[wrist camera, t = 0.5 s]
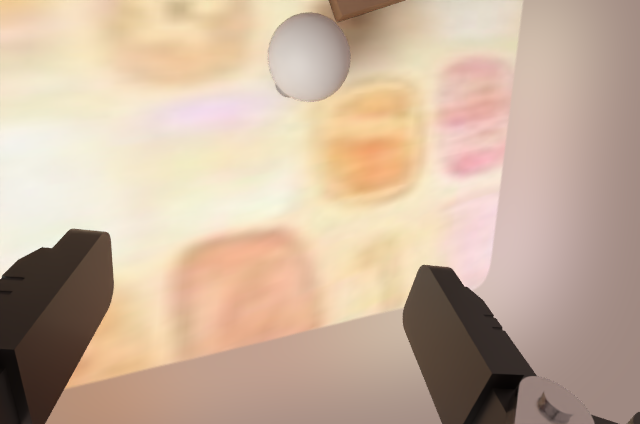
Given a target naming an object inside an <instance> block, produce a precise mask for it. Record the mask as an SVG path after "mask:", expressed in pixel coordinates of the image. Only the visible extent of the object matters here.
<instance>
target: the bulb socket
mask: <svg viewBox="0 0 640 424" xmlns="http://www.w3.org/2000/svg"><path fill="white" fill-rule="evenodd" d="M402 1H405V0H329V2H330V5H331V8H332V10H333V13H334V16H335V19H336V22H339V21H342V20H346V19H349V18H352V17H355V16H358V15H361V14H364V13H367V12H371V11H374V10H377V9H380V8H383V7H386V6H389V5H392V4H396V3H399V2H402Z"/></svg>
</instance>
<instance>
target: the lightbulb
mask: <svg viewBox="0 0 640 424" xmlns="http://www.w3.org/2000/svg"><path fill="white" fill-rule="evenodd" d="M268 64H269V70H270V73H271V75H272V78H273V80H274V81H275V84H276V88H277V90H278V92H279V93H280V94H281V95H283V96H285V97H292V98H294V99H296V100H300V101H306V102H314V101H320V100H323V99H326V98H327V97H329V96H331V95H332V94H334V93H335V92H336V91H337V90H338V89H339V88H340V87H341V85H342V84H343V82H344V81H345V79H346V76H347V74H348V71H349V67H350V48H349V44H348V41H347V38H346V36H345V35H344V33H343V31H342V30H341V29H340V27H339V26H338V25H337V24H336V23H335V22H334V21H332V20H331V19H329V18H328V17H326V16H323V15H321V14H317V13H301V14H297V15H294V16H292V17H290V18H288V19H287V20H285V21H284V22H283V23H282V24H281V25H279V27H278V28H277V29H276V31H275V32H274V34H273V36H272V38H271V41H270V43H269V48H268Z"/></svg>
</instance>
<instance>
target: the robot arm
mask: <svg viewBox="0 0 640 424" xmlns="http://www.w3.org/2000/svg"><path fill="white" fill-rule="evenodd" d="M113 288H114V280H113V265H112V251H111V239H110V235H109V234H108V233H107V232H101V231H91V230H81V229H70V230H69V231H68V232H67V233H66V234H65V235H64V236H63V237H62V238H61V239H60V240H59V242H58V243H57V244H56V245H55V246H54V247H53V248H43V247H42V248H40V249H38V250H36V251H34V252H32V253H30V254H28V255H27V256H25V257H23V258H21V259H19V260H18V261H17V262H15V263H14V264H13V265H12V266H11V267H10V268H9V269H8V270H7V271H6V272H5V273H4V274H3V275H2V278H1V279H0V424H45V423H46V421H47V419H48V417H49V416H50V413H51V412H52V410H53V408H54V406H55V405H56V403H57V401H58V399H59V397H60V396H61V394H62V392H63V390H64V388H65V386H66V385H67V383H68V381H69V379H70V377H71V376H72V374H73V372H74V370H75V368H76V366H77V365H78V363H79V361H80V359H81V357H82V356H83V354H84V352H85V350H86V348H87V346H88V345H89V343H90V341H91V339H92V337H93V336H94V334H95V332H96V330H97V328H98V327H99V325H100V323H101V321H102V319H103V317H104V316H105V314H106V312H107V310H108V308H109V306H110V303H111V299H112V295H113ZM493 316H494V315H493V314H492V312H491V311H490V309H489V308H488V307H487V305H486V304H485V302H484V301H483V300H482V299H481V298H480V297H478V296H477V295H476V294H475V293H474V292H473V291H471V290H470V289H469V288H468V287H464V285H463V284H462V282H461V281H460V279H459V278H458V276H457V275H456V274H455V272H454V271H453V269H451V268H449V267H440V266H430V265H422V266H421V267H420V268H419V270H418V272H417V275H416V277H415V280H414V283H413V285H412V288H411V291H410V293H409V296H408V299H407V301H406V304H405V307H404V310H403V326H404V330H405V332H406V335H407V337H408V340H409V342H410V345H411V347H412V350H413V352H414V355H415V357H416V360H417V362H418V365H419V367H420V370H421V372H422V375H423V377H424V379H425V382H426V384H427V387H428V389H429V392H430V394H431V397H432V399H433V402H434V404H435V407H436V409H437V412H438V414H439V417H440V419H441V422H442V424H618V423H615V422H612V421H609V420H606V419H602V418H599V417H596V416H593V415H591V414H590V412H589V411H588V410H587V408H586V407H585V405H584V404H583V403H582V402H581V401H580V400H579V399H578V398H577V397H576V396H575V395H574V394H572V393H571V392H570V391H569V390H567V389H566V388H564V387H563V386H561V385H559V384H558V383H556V382H554V381H551V380H549V379H546V378H542V377H539V376H536V374H535V373H534V371H533V370H532V368H531V367H530V366H529V364H528V363H527V361H526V360H525V359H524V357H523V356H522V354H521V353H520V352H519V350H518V349H517V348H516V346H515V345H514V344H513V342H512V340H511V339H510V337H509V336H508V335H507V333H506V332H505V331H503V330H502V326H501V325H500V323H499V322H498V321H497V319H496V318H494V317H493ZM627 424H640V412H638V413H636V414H635V415H634V416H633V417H632V419H631V420H630V421H629V422H628V423H627Z"/></svg>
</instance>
